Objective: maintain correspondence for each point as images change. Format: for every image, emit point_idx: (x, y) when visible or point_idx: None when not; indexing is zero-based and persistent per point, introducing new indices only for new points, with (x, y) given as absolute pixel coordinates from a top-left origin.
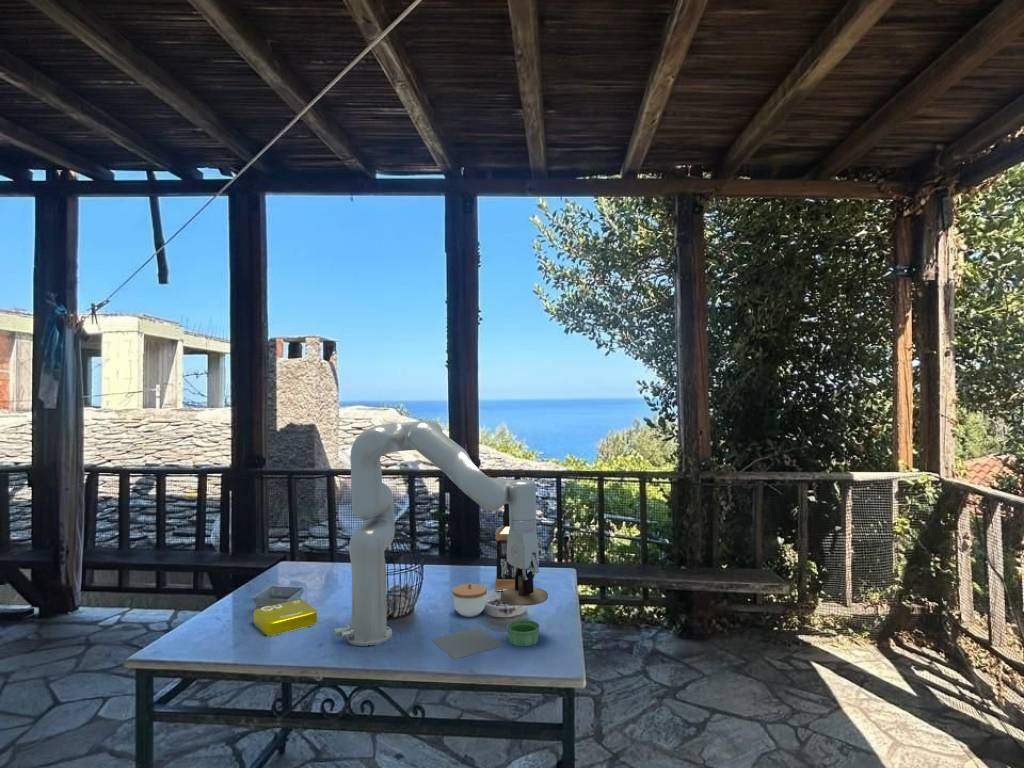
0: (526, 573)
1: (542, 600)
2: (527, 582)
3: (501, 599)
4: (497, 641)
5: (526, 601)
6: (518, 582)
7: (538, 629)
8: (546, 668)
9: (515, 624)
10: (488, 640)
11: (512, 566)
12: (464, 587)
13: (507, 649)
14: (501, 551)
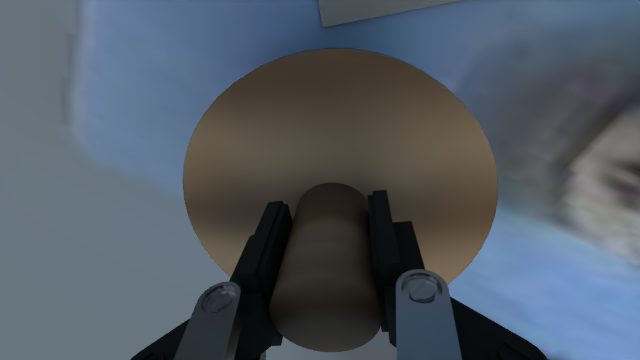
0: (182, 351)
1: (213, 253)
2: (231, 280)
3: (366, 51)
4: (370, 11)
5: (200, 174)
6: (334, 237)
7: None
8: (126, 94)
9: None
10: None
11: (524, 355)
12: None
13: (297, 28)
14: None
